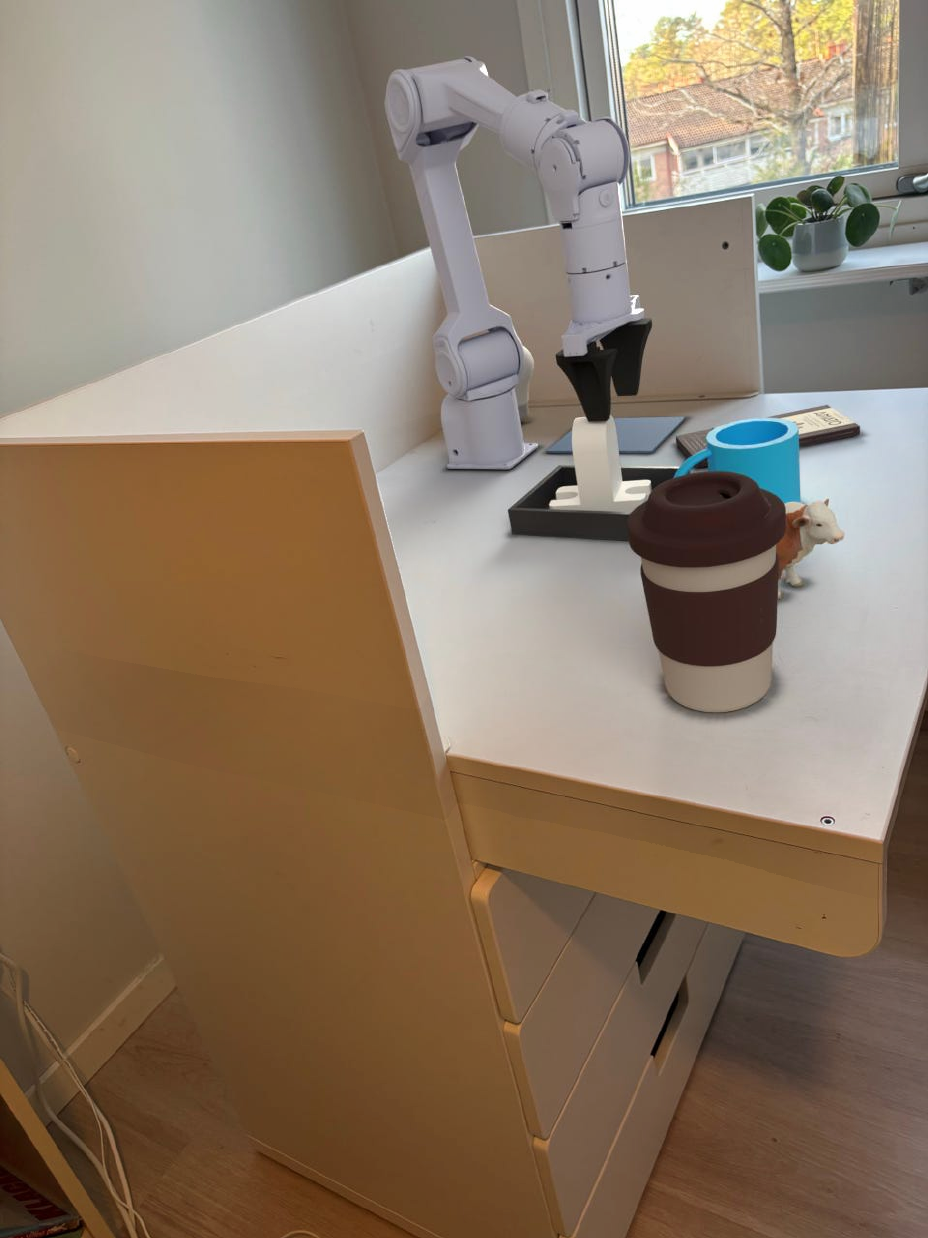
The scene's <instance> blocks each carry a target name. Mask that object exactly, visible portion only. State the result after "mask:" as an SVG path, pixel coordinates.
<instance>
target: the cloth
mask: <svg viewBox="0 0 928 1238" xmlns="http://www.w3.org/2000/svg"><path fill="white" fill-rule="evenodd" d="M613 419H614V423H615V427H616V434H617V442H618V450H619V454H653V453H654V452H655V451H656V450H657V449H658V448H659V447H660V446H661V445H662V444H663V443H664V442H665V441H666V439H668V438H669V437H670V435H671V434H672V433H674V431H676V430H677V429H678V428H679V427H680V425H681V424H683V423H684V421H686V419H687V416H651V417H650V416H649V417H648V416H647V417H646V416H645V417H613ZM545 451H546V454H573V449H572V429H571V430H570V431H569V432H567V433H566V434H565V435H564V436H563V437H561V438H560V439H559V440H557V441H556V442H555V443H554V444H553V445H552V446H551V447H550V448H548V449H547V450H545Z"/></svg>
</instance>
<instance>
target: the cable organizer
mask: <svg viewBox="0 0 928 1238" xmlns="http://www.w3.org/2000/svg"><path fill="white" fill-rule="evenodd" d="M613 418H614V417H613V415H612V414H610V418H609V420H607V421H596V422H588V420H587V418H586V416H581V417H580V416H579V417H575V418H574V420H573V423H572V428H571V430H572V449H573V453H572V457H573V464H574V466H575V471H576V477H577V484H578V485H577V486H564V487H560V488H558V490H557V491H556V498H557V500H551V502H550V504H549V507H550V509H560V510H586V511H613V512H632V511H633V510H634V509H635V508H636V507H638V506H639V505H641V504H642V503H644V502H645V501H647V500H648V497H649V494H650V493H651V491H652V489H651V481H650V480H636V481H622V474H621V466H622V465H621V459H620V453H619V450H618V442H617V434H616V427H615V423H614V419H613Z"/></svg>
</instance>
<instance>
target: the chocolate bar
mask: <svg viewBox="0 0 928 1238" xmlns="http://www.w3.org/2000/svg"><path fill="white" fill-rule="evenodd" d="M765 418H779V419H784V420H789V421H791V422H793V423H795V424H796V425H797V426H798V428H799V448H801V447H805V446H810V445H816V444H821V443H825V442H830V441H835V440H840V439H845V438H850V437H855V436H860V435H861V425H859V424H858V423H856V422H854V421H853V420H852V419H850V418H849V417H847V416H845V415H844V414H842V413H841V412H839V411H837V410H836V409H834V408H833V407H832V406H830V405H829V404H824V405H819V406H814V407H810V408H805V409H801V410H796V411H791V412H786V413H781V414H776V415H771V416H765ZM715 428H716V427H713V428H707V429H704V430H699V431H693V432H688V433H684V434H679V435H675V444H676V445H677V446H678V448H679V449H680V450H681V451H682V452H683V454H684V455H685V456H686V457H687V459H688V458H689V457H691V456H693V455H694V454H696V453H698V452H699V451H701V450H704V449H707V445H706V437H707V435H708V433H709V432H710V431H712V430H713V429H715ZM694 467H696V469H697V468H698V469H699V468H703V467H708V458H705V459H704V460H702V461H700V462H699V463H697V464H696V465H694Z"/></svg>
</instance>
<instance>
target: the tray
mask: <svg viewBox="0 0 928 1238" xmlns="http://www.w3.org/2000/svg"><path fill="white" fill-rule="evenodd" d="M620 466H621V474H622V481H636V480H650V481H651V489H652V490H653V489H654V488H655V487H657V486H658V485H659V484H661V483H663V482H665V481H667V480H670V479H672V478H673V477H674V475H675V473H676V472H677V470H678V468H679V467H680V466H678V465H677V466H675V465H674V466H673V465H672V466H669V465H667V466H666V465H665V466H664V465H658V466H657V465H620ZM691 473H692V472H691V470H690V471H689V472H688V473H687V474H691ZM577 485H578V484H577V477H576V471H575V465H563V464H562V465H561V464H560V465H559V464H558V465H557V466H556V467H555V468H554V469H553V470H552V471H550V473H548V474H547V475H546V476H545V477H543V478H542V480H540V481H539V482H538V483H537V484H536V485H534V486H533V487H532V488H531V489H529V491H527V492H526V493H525V494H524V495H523V496H521V498H519V499H518V500H517V501H516V502H515V503H514V504H513V505H512V506H510V507H509V508H508V509H507V514H508V519H509V525H510V530H511V535H517V536H532V537H533V536H534V537H553V538H569V539H570V538H571V539H588V540H589V539H591V540H607V541H623V542H625V541H626V542H629V539H628V531H627V520H628V518H629V516H630V514H631V512H613V511H586V510H560V509H550V507H549V504H550V502H551V500H557V498H556V491H557V490H558V488H560V487H564V486H577Z"/></svg>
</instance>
